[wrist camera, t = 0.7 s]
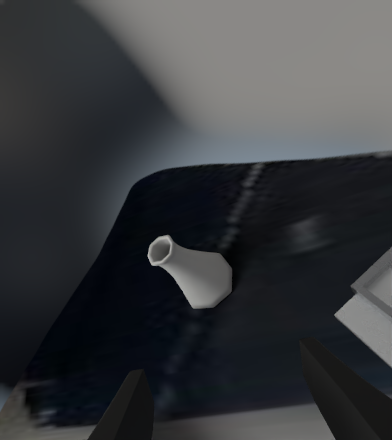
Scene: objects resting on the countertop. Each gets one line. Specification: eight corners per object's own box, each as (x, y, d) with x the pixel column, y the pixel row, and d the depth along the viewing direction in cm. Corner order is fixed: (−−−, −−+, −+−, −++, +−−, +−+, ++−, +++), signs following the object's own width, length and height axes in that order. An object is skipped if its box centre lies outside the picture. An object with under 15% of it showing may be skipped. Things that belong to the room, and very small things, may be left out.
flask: (225, 245, 34) (183, 206, 27) (241, 296, 29) (196, 265, 22) (180, 268, 36) (131, 237, 29) (189, 318, 31) (133, 296, 24)
